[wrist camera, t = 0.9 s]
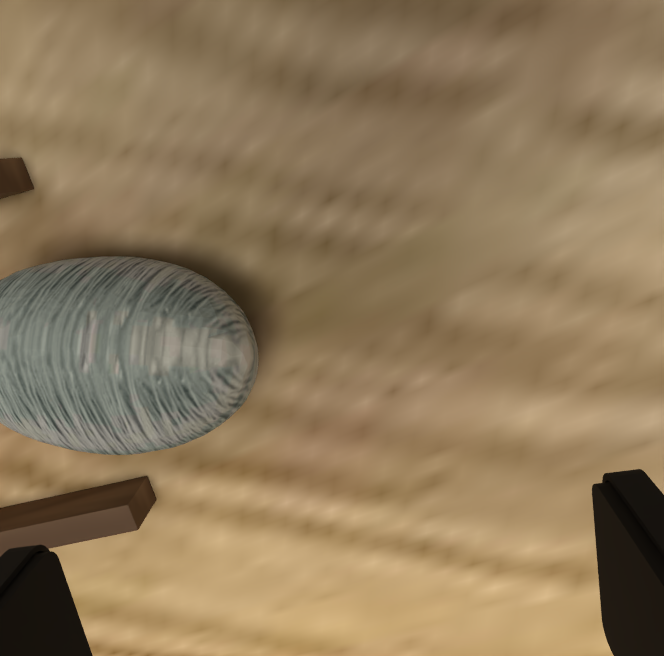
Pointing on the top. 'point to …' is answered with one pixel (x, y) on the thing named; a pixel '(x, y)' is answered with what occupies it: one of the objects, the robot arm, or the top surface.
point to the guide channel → (78, 507)
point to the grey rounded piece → (120, 354)
